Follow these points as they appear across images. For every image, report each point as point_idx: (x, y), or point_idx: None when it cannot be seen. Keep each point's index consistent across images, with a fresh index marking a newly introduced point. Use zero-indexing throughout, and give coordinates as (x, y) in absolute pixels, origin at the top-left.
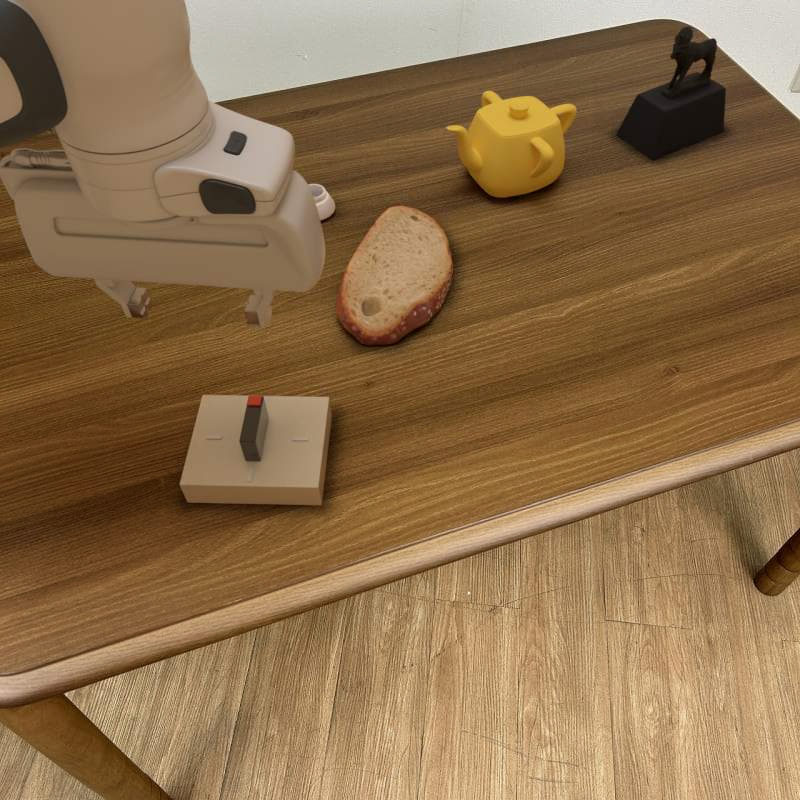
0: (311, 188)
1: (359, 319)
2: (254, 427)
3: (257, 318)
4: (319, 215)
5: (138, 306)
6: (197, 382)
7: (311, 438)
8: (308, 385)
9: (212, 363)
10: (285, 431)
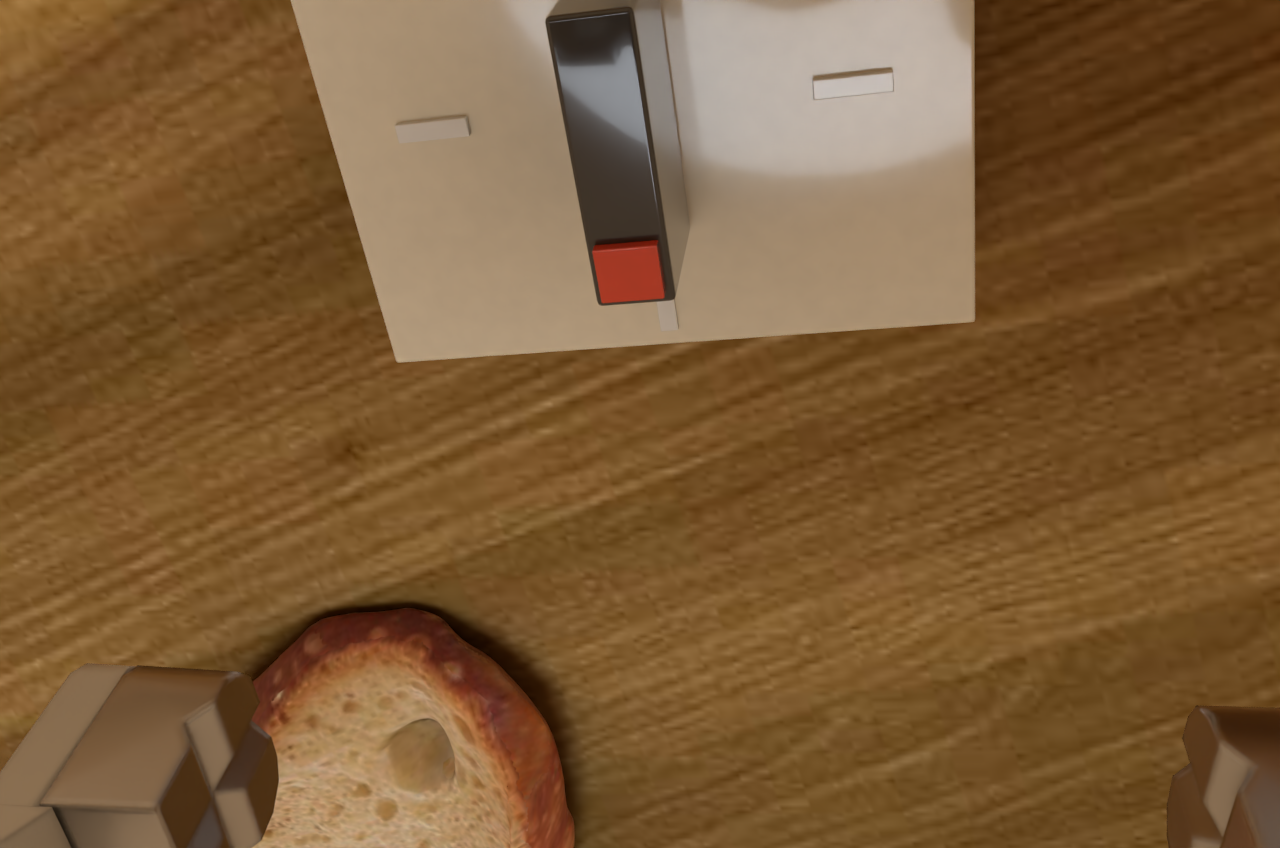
0: None
1: (441, 705)
2: (577, 110)
3: (80, 740)
4: None
5: (1268, 839)
6: (1051, 407)
7: (388, 140)
8: (575, 429)
9: (1004, 499)
10: (518, 163)
